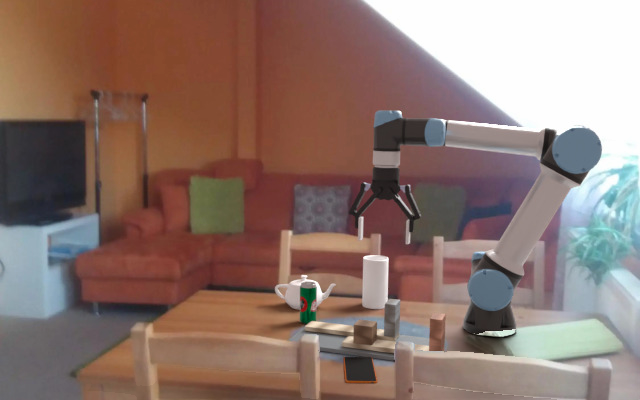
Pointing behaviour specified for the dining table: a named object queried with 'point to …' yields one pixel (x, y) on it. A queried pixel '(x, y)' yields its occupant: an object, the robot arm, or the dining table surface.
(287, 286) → the teapot
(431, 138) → the robot arm
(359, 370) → the smartphone
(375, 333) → the block
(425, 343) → the board
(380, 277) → the cup
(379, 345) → the strip
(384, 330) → the strip
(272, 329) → the dining table surface
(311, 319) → the soda can
